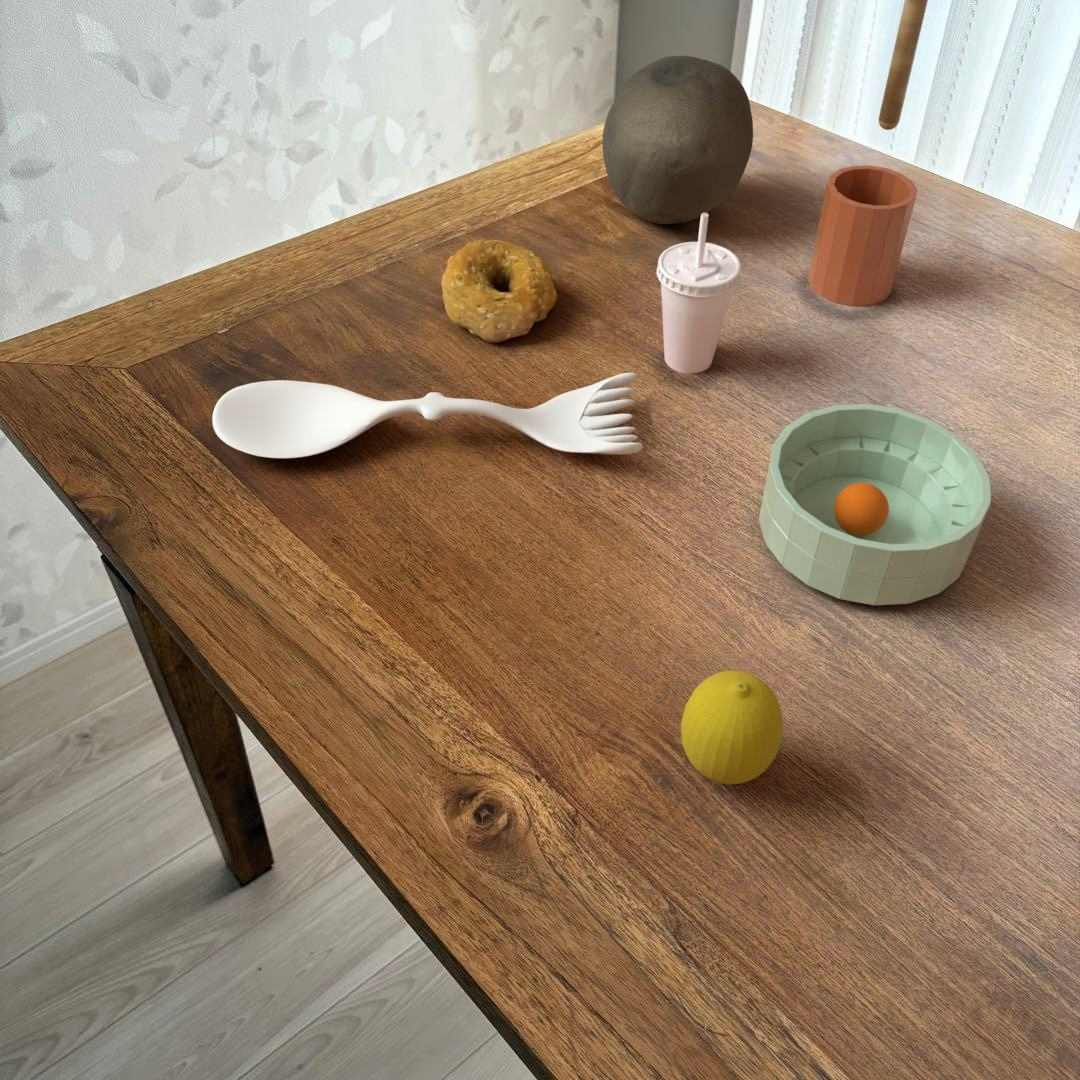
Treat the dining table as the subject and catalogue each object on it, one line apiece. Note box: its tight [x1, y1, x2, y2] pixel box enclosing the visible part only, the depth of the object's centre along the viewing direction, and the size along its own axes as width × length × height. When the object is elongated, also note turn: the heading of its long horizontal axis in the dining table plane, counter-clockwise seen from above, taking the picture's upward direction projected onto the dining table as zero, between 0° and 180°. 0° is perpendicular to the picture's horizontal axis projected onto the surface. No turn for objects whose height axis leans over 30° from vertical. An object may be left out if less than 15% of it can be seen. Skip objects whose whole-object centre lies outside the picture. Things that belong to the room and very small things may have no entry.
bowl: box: [758, 403, 992, 606], centre depth 75 cm, size 14×14×6 cm
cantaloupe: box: [602, 55, 754, 225], centre depth 102 cm, size 14×14×15 cm
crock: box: [807, 164, 918, 307], centre depth 95 cm, size 7×7×10 cm
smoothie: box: [656, 213, 742, 374], centre depth 86 cm, size 6×6×14 cm
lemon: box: [680, 670, 784, 785], centre depth 62 cm, size 6×6×8 cm
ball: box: [834, 483, 889, 536], centre depth 76 cm, size 4×4×4 cm
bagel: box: [440, 238, 558, 343], centre depth 95 cm, size 10×11×5 cm
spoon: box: [211, 372, 644, 459], centre depth 84 cm, size 9×32×4 cm, turn 89°
